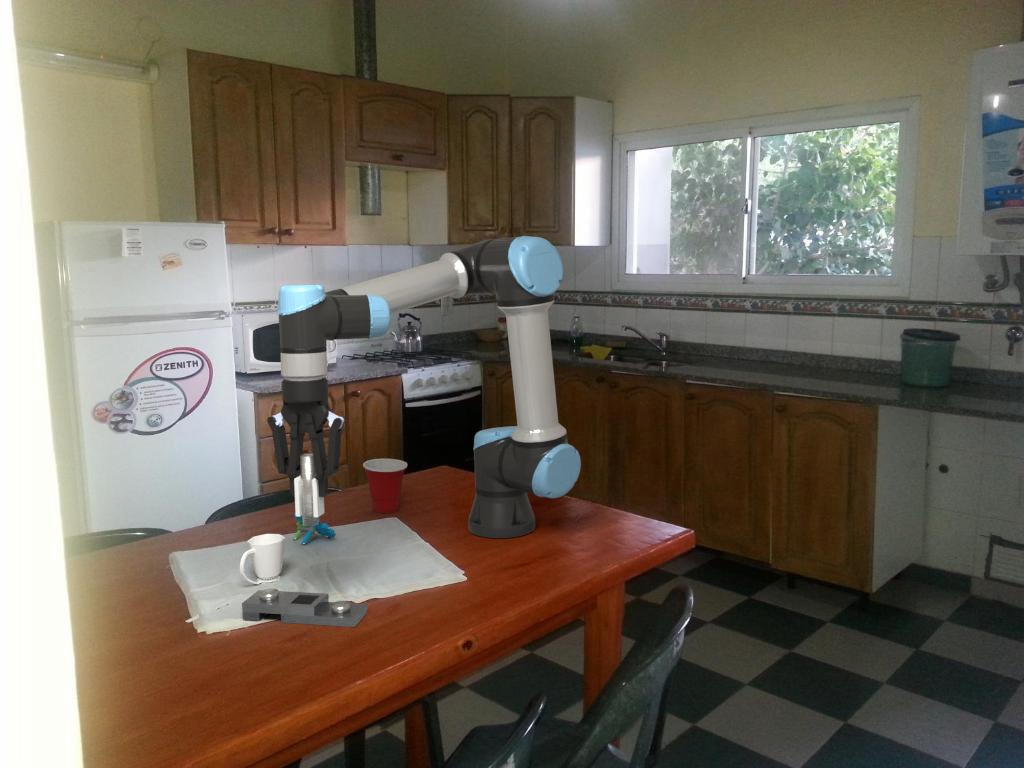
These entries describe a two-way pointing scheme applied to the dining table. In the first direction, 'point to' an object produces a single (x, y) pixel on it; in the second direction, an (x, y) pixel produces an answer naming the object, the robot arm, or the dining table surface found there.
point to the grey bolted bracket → (302, 608)
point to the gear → (312, 529)
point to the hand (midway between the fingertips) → (310, 514)
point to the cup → (265, 557)
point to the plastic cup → (385, 483)
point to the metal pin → (307, 489)
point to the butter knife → (218, 605)
